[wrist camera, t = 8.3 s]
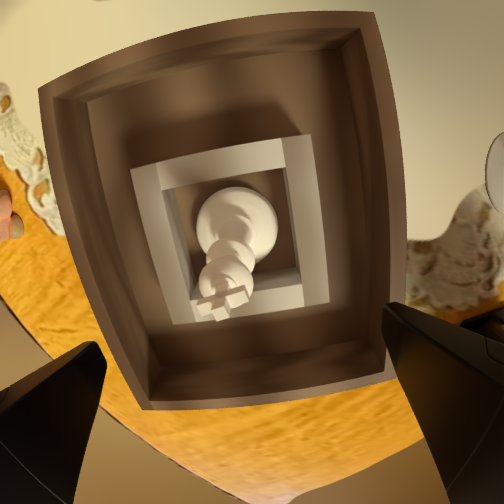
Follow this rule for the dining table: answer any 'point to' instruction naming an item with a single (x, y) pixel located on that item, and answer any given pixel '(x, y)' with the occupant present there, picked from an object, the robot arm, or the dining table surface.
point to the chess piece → (232, 247)
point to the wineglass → (496, 173)
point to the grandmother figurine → (9, 219)
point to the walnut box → (236, 175)
